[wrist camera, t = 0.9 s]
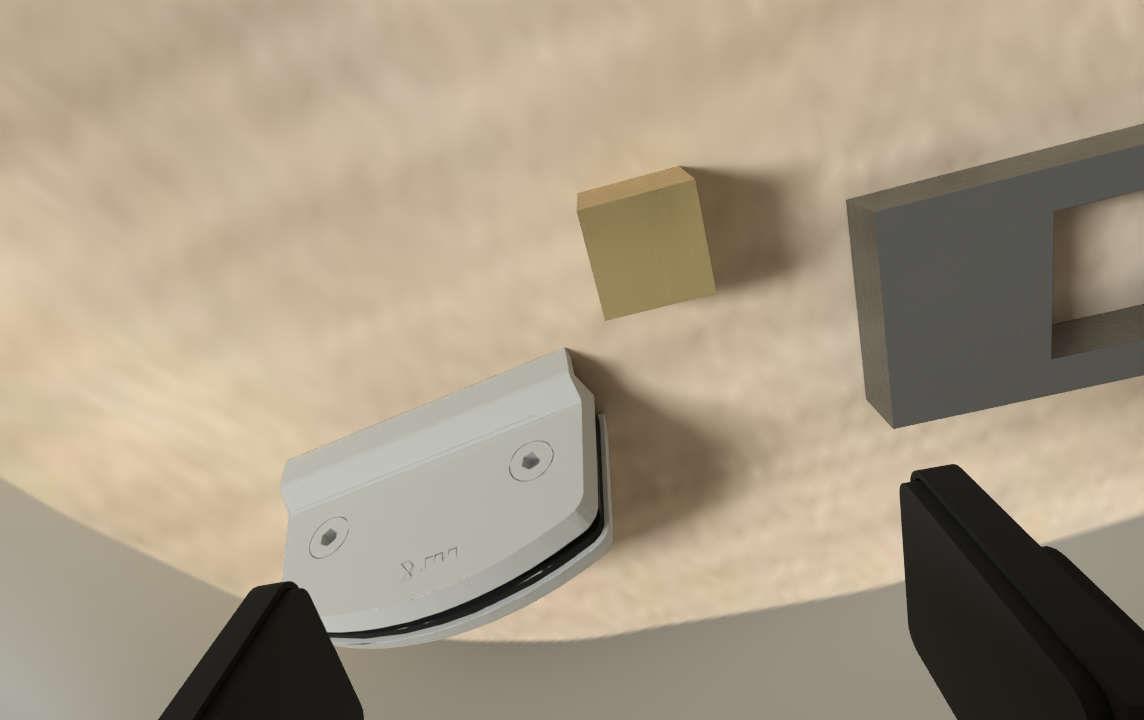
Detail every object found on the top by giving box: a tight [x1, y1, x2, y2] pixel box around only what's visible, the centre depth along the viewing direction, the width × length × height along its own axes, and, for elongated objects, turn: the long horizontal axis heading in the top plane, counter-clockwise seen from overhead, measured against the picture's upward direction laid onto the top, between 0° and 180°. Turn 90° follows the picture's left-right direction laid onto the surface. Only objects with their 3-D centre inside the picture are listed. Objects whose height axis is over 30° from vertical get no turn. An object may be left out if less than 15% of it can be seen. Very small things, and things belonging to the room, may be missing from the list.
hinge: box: [280, 348, 614, 648], centre depth 30 cm, size 17×5×10 cm, turn 114°
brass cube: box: [577, 166, 717, 321], centre depth 27 cm, size 4×4×4 cm
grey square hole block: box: [846, 124, 1144, 429], centre depth 28 cm, size 10×20×3 cm, turn 105°
